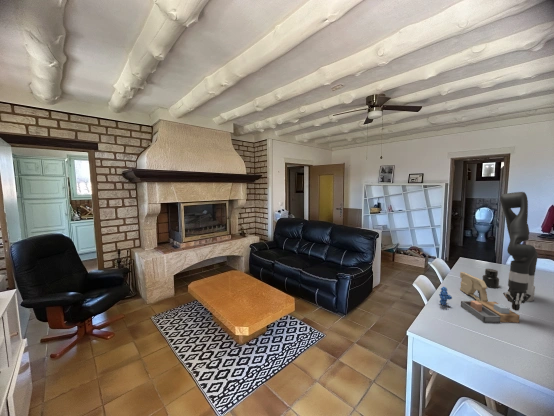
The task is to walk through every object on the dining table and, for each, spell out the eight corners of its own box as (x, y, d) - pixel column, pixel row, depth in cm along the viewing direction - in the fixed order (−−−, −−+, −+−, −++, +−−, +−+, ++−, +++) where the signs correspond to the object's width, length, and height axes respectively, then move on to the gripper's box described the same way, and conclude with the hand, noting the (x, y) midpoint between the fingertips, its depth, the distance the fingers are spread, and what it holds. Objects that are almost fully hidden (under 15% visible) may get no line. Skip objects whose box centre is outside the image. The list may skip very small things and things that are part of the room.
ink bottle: (492, 283, 174) (493, 268, 173) (502, 288, 165) (504, 272, 164) (478, 283, 175) (479, 267, 174) (487, 288, 166) (489, 272, 165)
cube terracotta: (475, 300, 138) (470, 300, 138) (482, 304, 133) (476, 304, 134) (475, 307, 138) (470, 307, 138) (481, 311, 134) (476, 311, 134)
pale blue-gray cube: (501, 309, 131) (502, 304, 130) (509, 313, 126) (509, 308, 126) (493, 309, 131) (493, 303, 131) (500, 313, 126) (501, 308, 126)
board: (494, 308, 139) (495, 301, 139) (519, 322, 124) (519, 315, 124) (477, 307, 140) (477, 301, 140) (499, 322, 125) (500, 315, 125)
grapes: (450, 311, 136) (452, 291, 135) (437, 307, 140) (438, 288, 139) (452, 303, 145) (453, 285, 144) (439, 300, 149) (440, 282, 148)
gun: (488, 307, 140) (488, 282, 140) (482, 306, 141) (482, 282, 141) (464, 292, 164) (464, 271, 164) (459, 292, 165) (459, 271, 164)
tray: (474, 306, 141) (475, 301, 141) (500, 323, 124) (500, 316, 124) (460, 306, 142) (461, 300, 141) (483, 322, 125) (484, 316, 124)
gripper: (524, 277, 130) (521, 306, 131) (499, 276, 130) (496, 306, 132) (538, 282, 122) (535, 314, 124) (512, 282, 123) (509, 313, 124)
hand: (515, 309), depth 128 cm, fingers closed
